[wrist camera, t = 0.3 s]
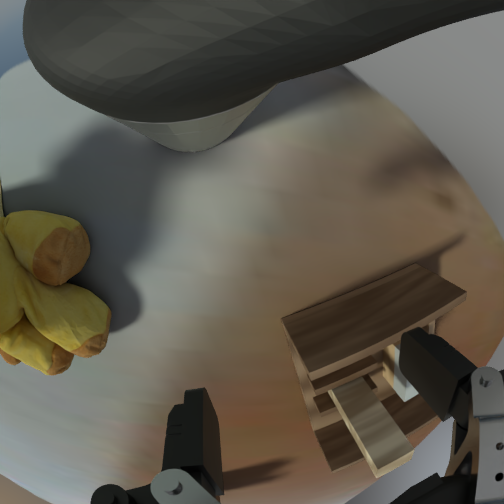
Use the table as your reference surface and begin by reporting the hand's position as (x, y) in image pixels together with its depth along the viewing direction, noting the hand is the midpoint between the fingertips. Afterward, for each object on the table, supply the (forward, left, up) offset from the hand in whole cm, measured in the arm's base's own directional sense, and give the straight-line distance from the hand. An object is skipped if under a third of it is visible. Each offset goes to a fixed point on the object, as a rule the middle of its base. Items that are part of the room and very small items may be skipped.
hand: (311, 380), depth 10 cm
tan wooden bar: (+20, +6, -17) cm, 27 cm away
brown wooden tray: (+20, +10, -18) cm, 29 cm away
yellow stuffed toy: (-5, -24, -19) cm, 30 cm away
